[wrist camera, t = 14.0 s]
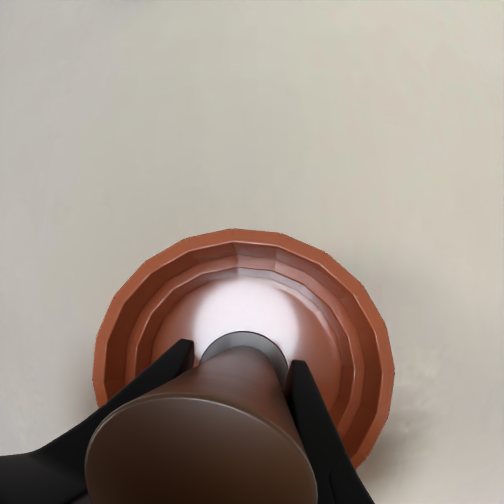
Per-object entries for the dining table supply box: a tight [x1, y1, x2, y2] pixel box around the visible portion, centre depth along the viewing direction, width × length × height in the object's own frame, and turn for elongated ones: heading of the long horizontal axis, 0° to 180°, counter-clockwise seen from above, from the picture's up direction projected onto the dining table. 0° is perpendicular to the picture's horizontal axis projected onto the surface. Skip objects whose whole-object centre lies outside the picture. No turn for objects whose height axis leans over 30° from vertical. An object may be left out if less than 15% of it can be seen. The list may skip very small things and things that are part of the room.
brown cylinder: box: [85, 331, 318, 504], centre depth 9 cm, size 4×4×13 cm
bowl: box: [92, 229, 395, 470], centre depth 14 cm, size 12×12×5 cm
